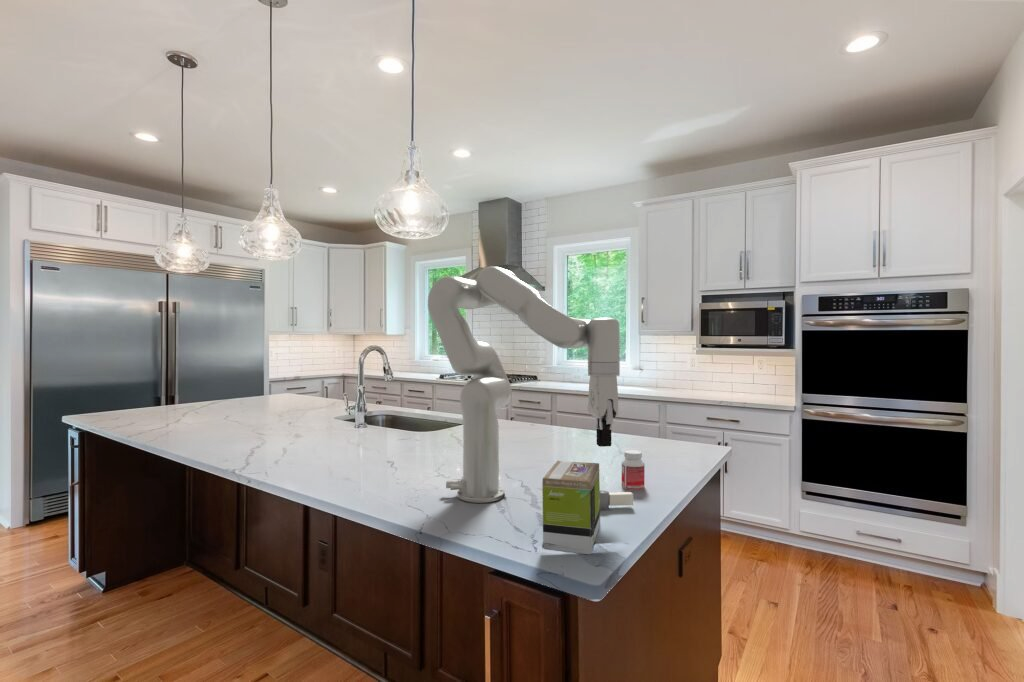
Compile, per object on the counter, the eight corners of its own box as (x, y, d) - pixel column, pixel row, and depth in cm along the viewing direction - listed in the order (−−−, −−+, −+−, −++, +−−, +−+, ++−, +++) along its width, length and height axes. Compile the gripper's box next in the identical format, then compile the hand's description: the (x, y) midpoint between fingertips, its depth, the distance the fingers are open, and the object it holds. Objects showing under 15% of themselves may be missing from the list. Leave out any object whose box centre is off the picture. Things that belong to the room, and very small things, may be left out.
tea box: (556, 523, 115) (557, 458, 115) (601, 528, 112) (601, 462, 112) (541, 550, 100) (541, 475, 100) (591, 556, 97) (592, 480, 97)
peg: (598, 510, 119) (598, 494, 119) (594, 506, 122) (594, 490, 122) (634, 509, 120) (634, 493, 120) (629, 505, 123) (629, 489, 123)
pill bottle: (649, 492, 138) (649, 452, 138) (633, 496, 135) (633, 455, 135) (632, 487, 143) (632, 448, 143) (616, 490, 140) (616, 451, 140)
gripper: (580, 368, 128) (581, 440, 128) (597, 371, 113) (597, 453, 113) (609, 367, 129) (609, 439, 129) (629, 371, 114) (629, 452, 114)
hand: (604, 445), depth 121 cm, fingers closed
